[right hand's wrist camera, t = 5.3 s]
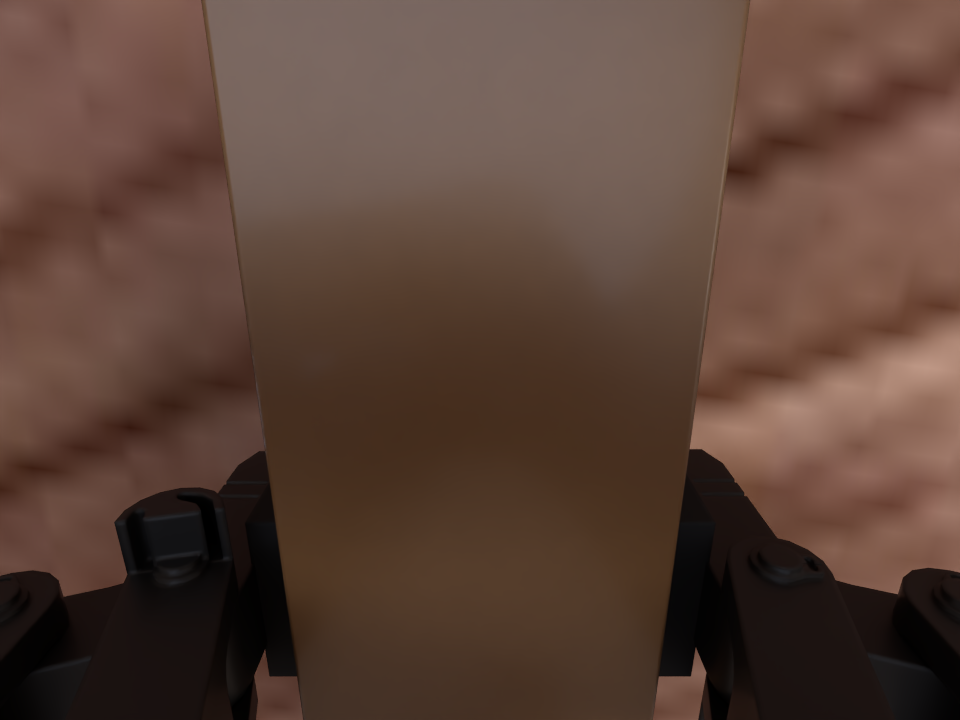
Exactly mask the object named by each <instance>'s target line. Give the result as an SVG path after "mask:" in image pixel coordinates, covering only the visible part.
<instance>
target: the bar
mask: <svg viewBox="0 0 960 720" xmlns="http://www.w3.org/2000/svg"><path fill="white" fill-rule="evenodd" d="M201 1H202V8H203V15H204V22H205V29H206V37H207V44H208V51H209V58H210V65H211V72H212V79H213V86H214V93H215V100H216V107H217V114H218V121H219V128H220V135H221V142H222V149H223V156H224V163H225V171H226V178H227V185H228V192H229V199H230V206H231V213H232V220H233V227H234V234H235V241H236V248H237V255H238V262H239V269H240V276H241V283H242V290H243V297H244V305H245V312H246V319H247V326H248V333H249V340H250V347H251V354H252V361H253V368H254V375H255V382H256V389H257V396H258V403H259V410H260V417H261V424H262V431H263V439H264V446H265V453H266V460H267V467H268V474H269V481H270V488H271V495H272V502H273V509H274V516H275V523H276V530H277V537H278V544H279V551H280V558H281V565H282V573H283V580H284V587H285V594H286V601H287V608H288V615H289V622H290V629H291V636H292V643H293V650H294V657H295V664H296V671H297V678H298V685H299V692H300V699H301V706H302V714H303V720H653V714H654V707H655V700H656V692H657V685H658V678H659V670H660V663H661V655H662V648H663V641H664V633H665V626H666V618H667V611H668V604H669V596H670V589H671V581H672V574H673V567H674V559H675V552H676V545H677V537H678V530H679V522H680V515H681V508H682V500H683V493H684V485H685V478H686V471H687V463H688V456H689V449H690V441H691V434H692V426H693V419H694V412H695V404H696V397H697V389H698V382H699V375H700V367H701V360H702V352H703V345H704V338H705V330H706V323H707V316H708V308H709V301H710V293H711V286H712V279H713V271H714V264H715V256H716V249H717V242H718V234H719V227H720V220H721V212H722V205H723V197H724V190H725V183H726V175H727V168H728V160H729V153H730V146H731V138H732V131H733V123H734V116H735V109H736V101H737V94H738V87H739V79H740V72H741V64H742V57H743V50H744V42H745V35H746V27H747V20H748V13H749V5H750V0H201Z"/></svg>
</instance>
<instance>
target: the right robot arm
mask: <svg viewBox="0 0 960 720" xmlns="http://www.w3.org/2000/svg"><path fill="white" fill-rule="evenodd" d="M114 523H115V527H116V531H117V535H118V539H119V543H120V547H121V551H122V555H123V559H124V562H125V566H126V570H127V574H128V575H127V577H126V579H125V582H124V583H123V584H119V585H116V586H112V587H108V588H104V589H99V590H94V591H89V592H85V593H80V594H75V595H70V596H66V597H63V594H62V590H61V587H60V584H59V581H58V580H57V579H56V578H55V577H54V576H52V575H51V574H50V573H46V572H40V571H25V572H16V573H10V574H6V575H2V576H0V720H256V713H257V704H258V698H257V691H256V685H255V679H254V674H255V672H256V670H257V667H258V665H259V662H260V660H261V658H262V655H263V653H264V650H265V651H266V657H267V663H268V669H269V675H270V676H297V671H296V664H295V657H294V650H293V643H292V636H291V629H290V622H289V615H288V608H287V601H286V594H285V587H284V580H283V573H282V565H281V558H280V551H279V544H278V537H277V530H276V523H275V516H274V509H273V502H272V495H271V488H270V481H269V474H268V467H267V460H266V453H265V451H259V452H257V453H256V454H254V455H253V456H251V457H250V458H248V459H247V460H245V461H244V462H242V463H241V464H239V465H238V466H237V468H236V469H235V471H234V472H233V473H232V475H231V476H230V477H229V479H228V480H227V484H226V485H224V486H223V487H222V488H221V490H220V491H219V493H218V494H217V493H216V492H215V491H212V490H208V489H203V488H179V489H174V490H169V491H165V492H160V493H158V494H155V495H153V496H150V497H147V498H145V499H142V500H140V501H139V502H137V503H136V504H134V505H132V506H131V507H129V508H128V509H126V510H125V511H124V512H123V513H122V514H121V515H120V516H119V518H118V519H117V520H116V521H115V522H114ZM695 648H697V651H698V653H699V656H700V658H701V660H702V663H703V665H704V668H705V670H706V672H707V673H706V679H705V685H704V690H703V696H702V702H701V708H700V713H699V719H698V720H960V573H958V572H954V571H950V570H942V569H933V568H925V569H918V570H912V571H911V572H910V573H908V574H907V575H906V576H905V577H903V579H902V583H901V586H900V589H899V593H898V594H893V593H888V592H884V591H879V590H874V589H869V588H865V587H860V586H855V585H851V584H847V583H844V582H840V581H836V580H835V578H834V576H833V574H832V572H831V571H830V570H829V568H828V567H827V566H826V564H825V563H824V562H823V561H822V560H821V559H820V558H818V557H817V556H816V555H814V554H813V553H812V552H810V551H809V550H807V549H805V548H803V547H801V546H799V545H796V544H794V543H792V542H790V541H786V540H782V539H778V538H777V537H776V536H775V534H774V533H773V532H772V530H771V529H770V528H769V526H768V525H767V523H766V522H765V521H764V519H763V518H762V517H761V515H760V514H759V513H758V511H757V510H756V508H755V507H754V506H753V504H752V503H751V502H750V500H749V499H748V497H747V496H744V492H743V491H742V489H741V488H740V486H739V485H738V484H737V483H735V482H734V478H733V477H732V475H731V474H730V473H729V471H728V470H727V469H726V467H725V466H724V465H723V463H721V462H720V461H718V460H717V459H715V458H714V457H712V456H711V455H709V454H708V453H706V452H705V451H703V450H702V449H689V456H688V463H687V471H686V478H685V485H684V493H683V500H682V508H681V515H680V522H679V530H678V537H677V545H676V552H675V559H674V567H673V574H672V581H671V589H670V596H669V604H668V611H667V618H666V626H665V633H664V641H663V648H662V655H661V663H660V670H659V676H691V672H692V666H693V660H694V654H695Z"/></svg>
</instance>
